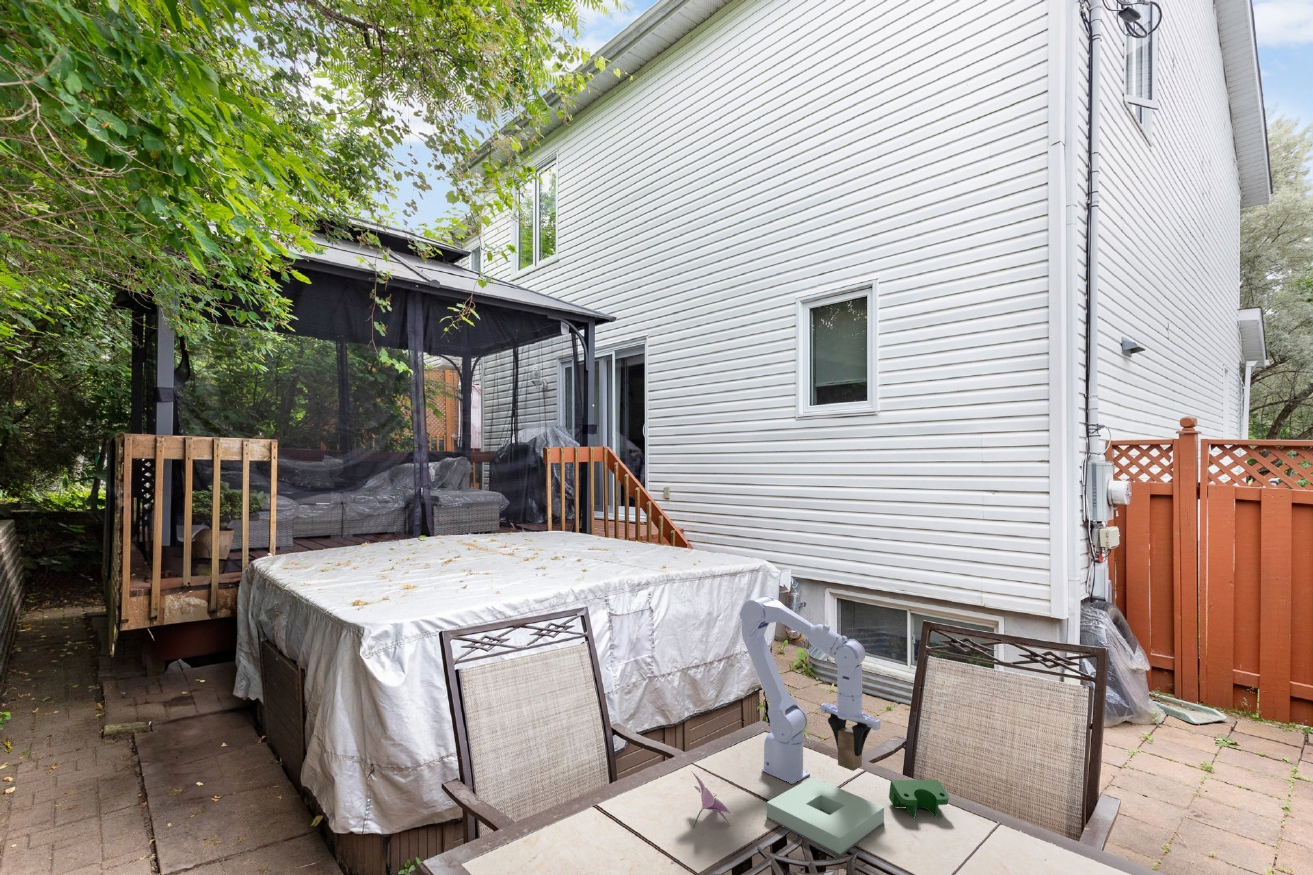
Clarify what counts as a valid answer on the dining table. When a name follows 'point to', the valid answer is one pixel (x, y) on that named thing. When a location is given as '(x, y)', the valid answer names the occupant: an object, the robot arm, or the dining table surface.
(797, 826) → the well block
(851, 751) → the post
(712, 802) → the lily
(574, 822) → the dining table surface
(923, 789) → the clamp
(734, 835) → the dining table surface
